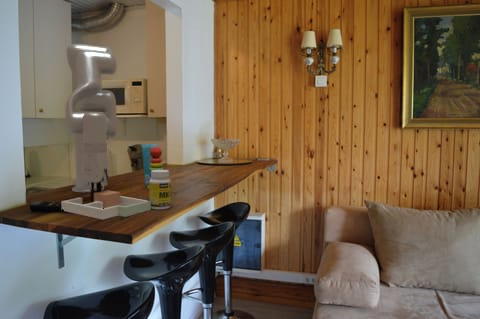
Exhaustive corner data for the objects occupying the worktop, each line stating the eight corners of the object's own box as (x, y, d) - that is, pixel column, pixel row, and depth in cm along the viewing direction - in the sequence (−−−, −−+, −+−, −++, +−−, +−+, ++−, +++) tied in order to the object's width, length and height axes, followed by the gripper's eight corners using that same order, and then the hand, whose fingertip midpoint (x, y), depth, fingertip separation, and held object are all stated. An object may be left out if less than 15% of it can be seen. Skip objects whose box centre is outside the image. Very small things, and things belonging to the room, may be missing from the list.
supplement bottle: (160, 210, 121) (159, 172, 120) (144, 207, 125) (144, 170, 123) (175, 206, 127) (175, 170, 126) (159, 204, 131) (159, 168, 130)
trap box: (60, 210, 119) (60, 201, 119) (103, 200, 134) (103, 192, 134) (109, 221, 107) (109, 211, 107) (150, 209, 122) (150, 201, 122)
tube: (157, 184, 172) (157, 143, 170) (158, 185, 168) (158, 144, 166) (141, 184, 170) (141, 143, 168) (142, 186, 165) (141, 144, 163)
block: (94, 207, 124) (93, 193, 123) (108, 204, 129) (108, 190, 129) (106, 209, 121) (105, 195, 120) (120, 206, 126) (120, 192, 126)
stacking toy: (154, 187, 164) (154, 145, 162) (169, 188, 161) (169, 146, 159) (143, 190, 156) (143, 146, 154) (159, 191, 153) (159, 147, 152)
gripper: (71, 148, 126) (73, 200, 128) (100, 150, 119) (101, 205, 120) (90, 147, 133) (91, 196, 134) (118, 149, 125) (119, 201, 127)
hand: (96, 201), depth 127 cm, fingers closed
